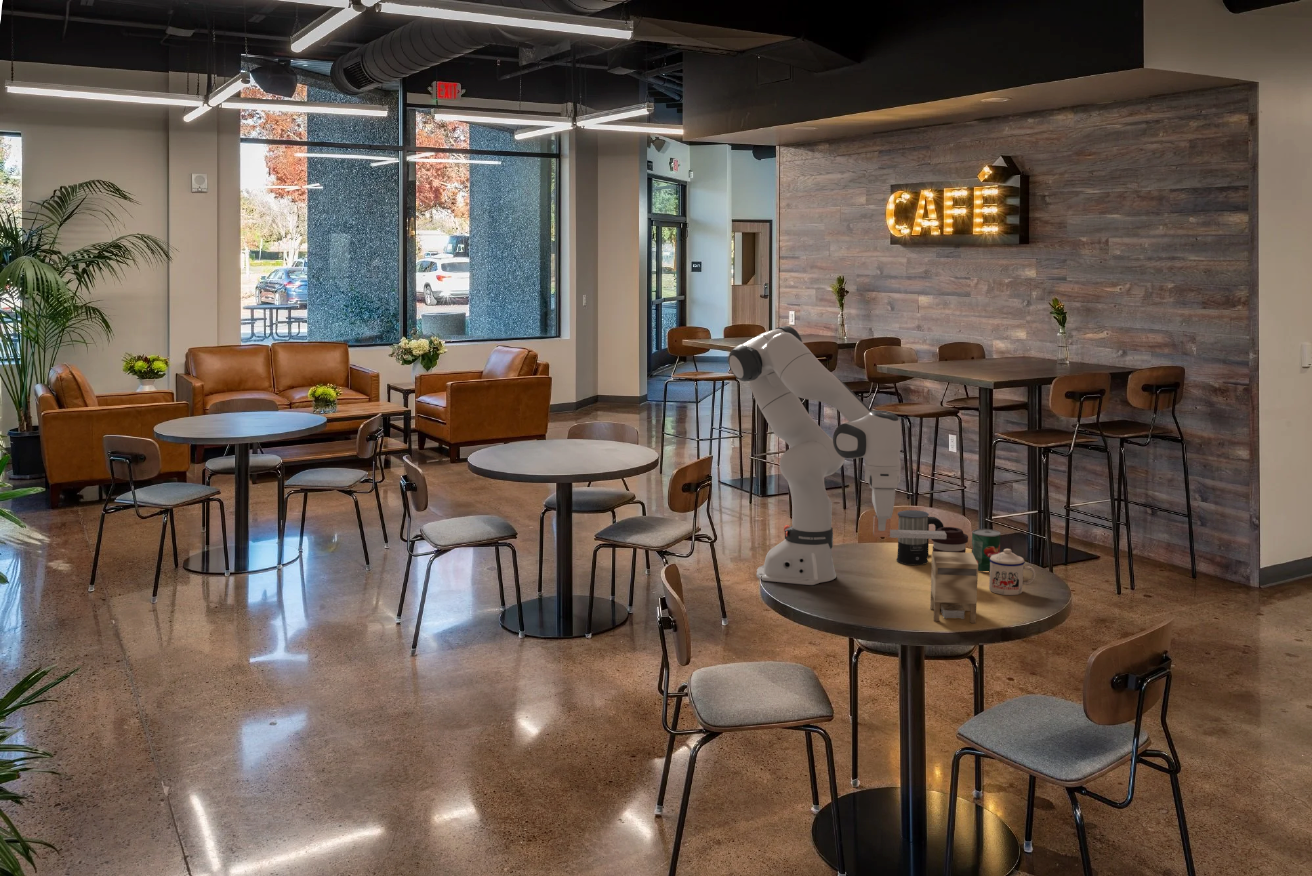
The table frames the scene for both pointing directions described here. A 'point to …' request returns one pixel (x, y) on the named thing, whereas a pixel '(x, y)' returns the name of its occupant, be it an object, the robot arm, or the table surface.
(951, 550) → the coffee cup
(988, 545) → the canned tomato
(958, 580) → the cabinet
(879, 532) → the blade tool
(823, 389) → the robot arm
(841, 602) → the table surface
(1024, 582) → the teacup with lid
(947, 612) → the block
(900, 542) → the milk frother
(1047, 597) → the table surface
